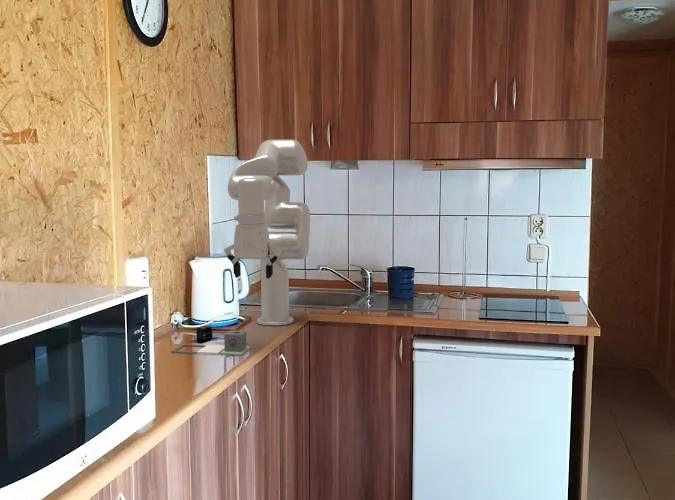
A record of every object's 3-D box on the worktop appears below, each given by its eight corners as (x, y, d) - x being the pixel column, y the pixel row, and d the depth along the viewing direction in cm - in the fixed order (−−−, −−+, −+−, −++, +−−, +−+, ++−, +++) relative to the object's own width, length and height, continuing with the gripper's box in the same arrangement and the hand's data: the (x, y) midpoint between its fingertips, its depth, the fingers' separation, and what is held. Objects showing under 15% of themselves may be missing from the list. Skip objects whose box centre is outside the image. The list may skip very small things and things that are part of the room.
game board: (182, 345, 210) (182, 343, 210) (250, 348, 206) (250, 346, 206) (171, 352, 202) (171, 350, 202) (241, 356, 198) (241, 353, 198)
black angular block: (199, 346, 211) (199, 332, 210) (181, 343, 215) (181, 329, 214) (226, 338, 221) (225, 324, 221) (208, 335, 225) (208, 321, 225)
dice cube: (241, 352, 200) (240, 335, 200) (224, 351, 201) (224, 334, 201) (246, 347, 205) (246, 331, 205) (230, 346, 206) (229, 330, 206)
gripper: (219, 221, 201) (221, 278, 204) (276, 222, 198) (277, 280, 201) (228, 218, 209) (230, 273, 211) (283, 218, 205) (284, 275, 208)
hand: (253, 277), depth 206 cm, fingers open, 9 cm apart
